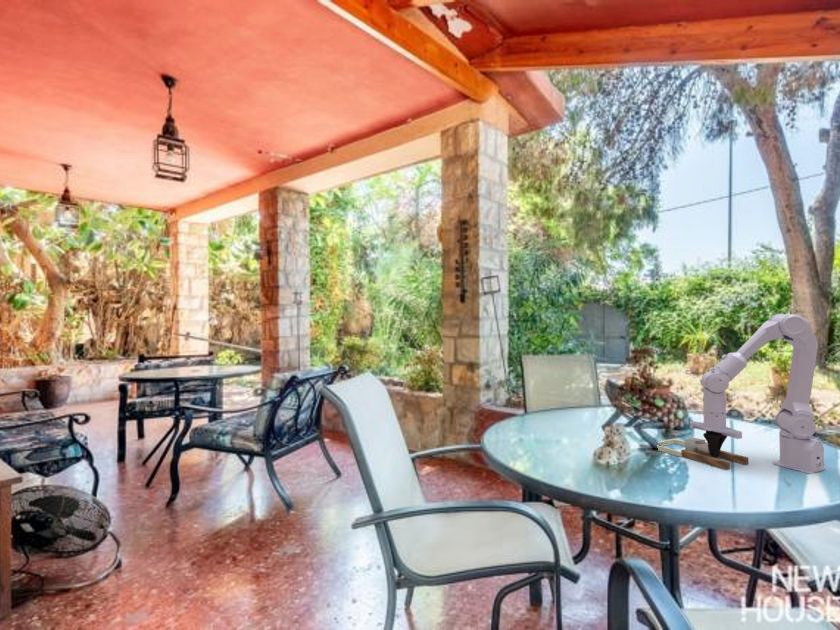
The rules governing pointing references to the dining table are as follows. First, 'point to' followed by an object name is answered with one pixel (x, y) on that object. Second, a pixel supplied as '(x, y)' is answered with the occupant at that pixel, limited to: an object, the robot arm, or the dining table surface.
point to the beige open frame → (668, 450)
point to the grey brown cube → (704, 449)
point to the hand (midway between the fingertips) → (715, 456)
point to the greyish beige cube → (692, 444)
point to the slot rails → (716, 461)
